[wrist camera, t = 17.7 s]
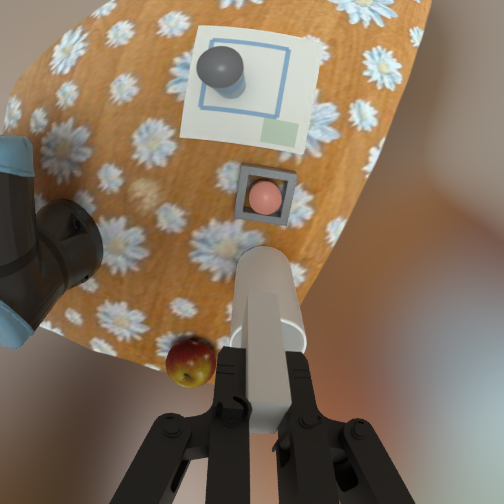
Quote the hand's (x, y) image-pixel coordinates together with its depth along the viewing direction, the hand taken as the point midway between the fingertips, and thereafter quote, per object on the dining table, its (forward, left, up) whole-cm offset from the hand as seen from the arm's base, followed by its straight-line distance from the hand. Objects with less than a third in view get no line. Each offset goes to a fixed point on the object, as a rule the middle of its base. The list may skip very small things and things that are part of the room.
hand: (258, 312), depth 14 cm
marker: (-5, +14, -24) cm, 28 cm away
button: (+1, 0, -23) cm, 23 cm away
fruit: (-7, -32, -25) cm, 41 cm away
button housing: (+1, 0, -25) cm, 25 cm away
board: (-3, +14, -25) cm, 29 cm away
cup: (+3, -12, -25) cm, 28 cm away
